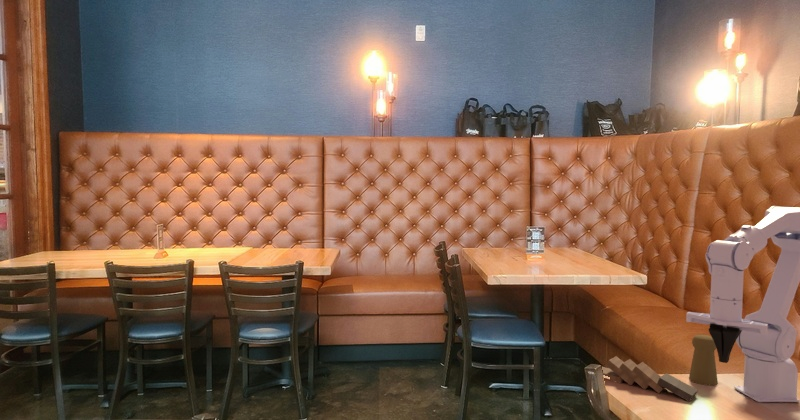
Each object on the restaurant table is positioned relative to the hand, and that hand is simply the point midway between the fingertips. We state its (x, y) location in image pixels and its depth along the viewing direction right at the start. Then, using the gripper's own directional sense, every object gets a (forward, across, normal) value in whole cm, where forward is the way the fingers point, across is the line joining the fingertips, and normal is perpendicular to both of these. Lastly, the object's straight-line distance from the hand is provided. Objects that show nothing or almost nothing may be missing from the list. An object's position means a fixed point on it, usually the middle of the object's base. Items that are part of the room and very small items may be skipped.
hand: (723, 361), depth 110 cm
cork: (+10, -7, +14) cm, 19 cm away
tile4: (+9, -18, +1) cm, 20 cm away
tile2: (+9, -12, 0) cm, 15 cm away
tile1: (+9, -6, 0) cm, 11 cm away
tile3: (+9, -15, +1) cm, 17 cm away
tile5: (+9, -21, +1) cm, 23 cm away
